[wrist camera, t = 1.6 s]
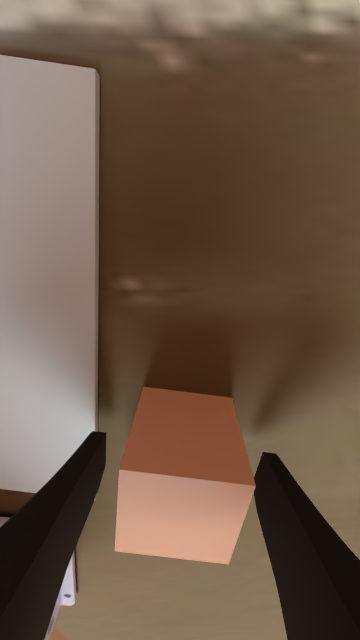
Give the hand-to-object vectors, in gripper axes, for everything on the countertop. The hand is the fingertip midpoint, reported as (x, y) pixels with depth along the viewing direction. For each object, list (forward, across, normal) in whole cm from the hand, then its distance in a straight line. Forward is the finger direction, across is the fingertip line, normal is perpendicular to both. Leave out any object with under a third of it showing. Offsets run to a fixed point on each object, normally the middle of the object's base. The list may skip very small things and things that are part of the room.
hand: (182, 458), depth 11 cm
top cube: (+2, 0, 0) cm, 2 cm away
